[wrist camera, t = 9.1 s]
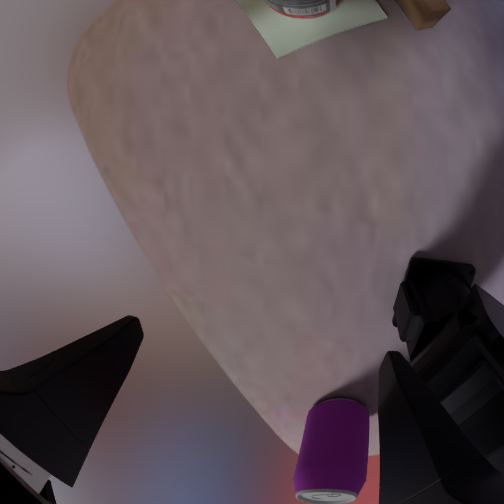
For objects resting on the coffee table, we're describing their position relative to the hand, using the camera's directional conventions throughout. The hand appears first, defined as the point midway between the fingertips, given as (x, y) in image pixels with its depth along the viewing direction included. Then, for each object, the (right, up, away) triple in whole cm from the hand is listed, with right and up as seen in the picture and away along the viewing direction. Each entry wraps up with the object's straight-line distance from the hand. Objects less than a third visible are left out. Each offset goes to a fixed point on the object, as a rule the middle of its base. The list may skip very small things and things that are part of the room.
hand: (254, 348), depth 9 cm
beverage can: (+10, -16, +19) cm, 27 cm away
